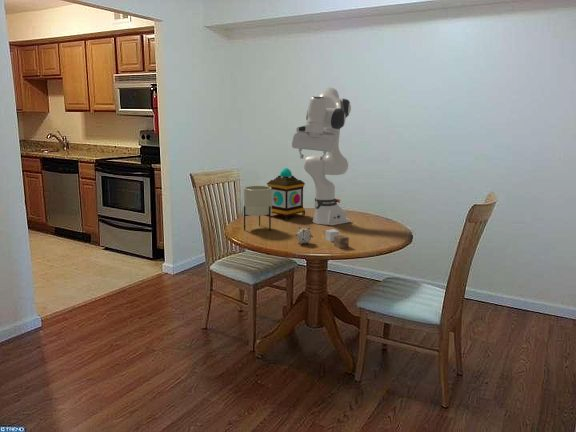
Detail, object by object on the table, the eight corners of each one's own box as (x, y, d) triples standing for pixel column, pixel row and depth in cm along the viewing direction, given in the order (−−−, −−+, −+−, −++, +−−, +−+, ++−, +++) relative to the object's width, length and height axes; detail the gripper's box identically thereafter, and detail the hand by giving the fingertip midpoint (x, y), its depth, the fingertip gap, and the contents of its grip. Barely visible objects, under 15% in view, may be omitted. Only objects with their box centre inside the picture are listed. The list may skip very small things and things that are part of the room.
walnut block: (342, 244, 227) (343, 235, 226) (348, 247, 223) (348, 237, 222) (334, 246, 225) (334, 236, 224) (339, 248, 221) (339, 238, 220)
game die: (299, 250, 230) (290, 233, 232) (314, 243, 232) (305, 225, 234) (302, 246, 222) (293, 228, 224) (318, 238, 224) (308, 220, 226)
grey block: (333, 238, 239) (334, 229, 238) (338, 240, 234) (339, 231, 233) (325, 239, 237) (325, 230, 235) (330, 242, 232) (330, 232, 231)
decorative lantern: (263, 216, 289) (262, 167, 282) (284, 211, 303) (285, 165, 296) (286, 221, 275) (287, 170, 269) (308, 216, 290) (309, 167, 283)
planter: (239, 227, 260) (238, 186, 255) (264, 224, 267) (264, 184, 262) (249, 233, 247) (248, 190, 242) (276, 230, 254) (276, 188, 249)
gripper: (336, 133, 223) (333, 162, 223) (294, 129, 224) (290, 158, 225) (336, 131, 217) (333, 161, 217) (293, 127, 218) (290, 156, 218)
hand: (311, 159), depth 221 cm, fingers open, 8 cm apart
